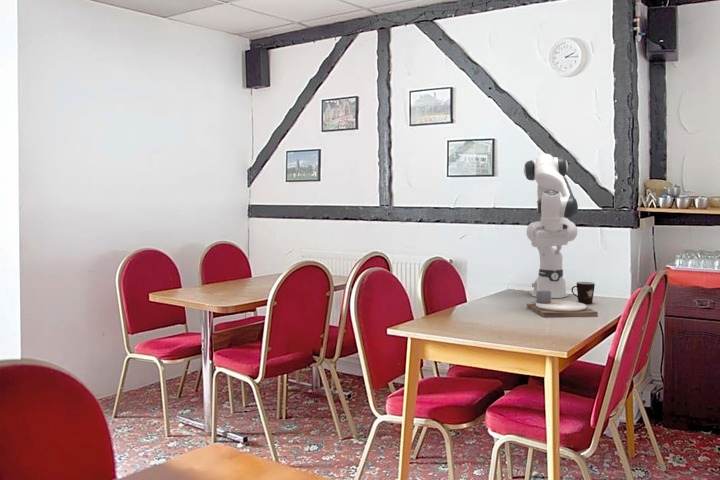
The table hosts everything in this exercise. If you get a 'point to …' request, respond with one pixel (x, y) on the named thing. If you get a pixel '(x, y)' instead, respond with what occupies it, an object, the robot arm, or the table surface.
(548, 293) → the dial
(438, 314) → the table surface
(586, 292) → the coffee mug
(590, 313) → the base
